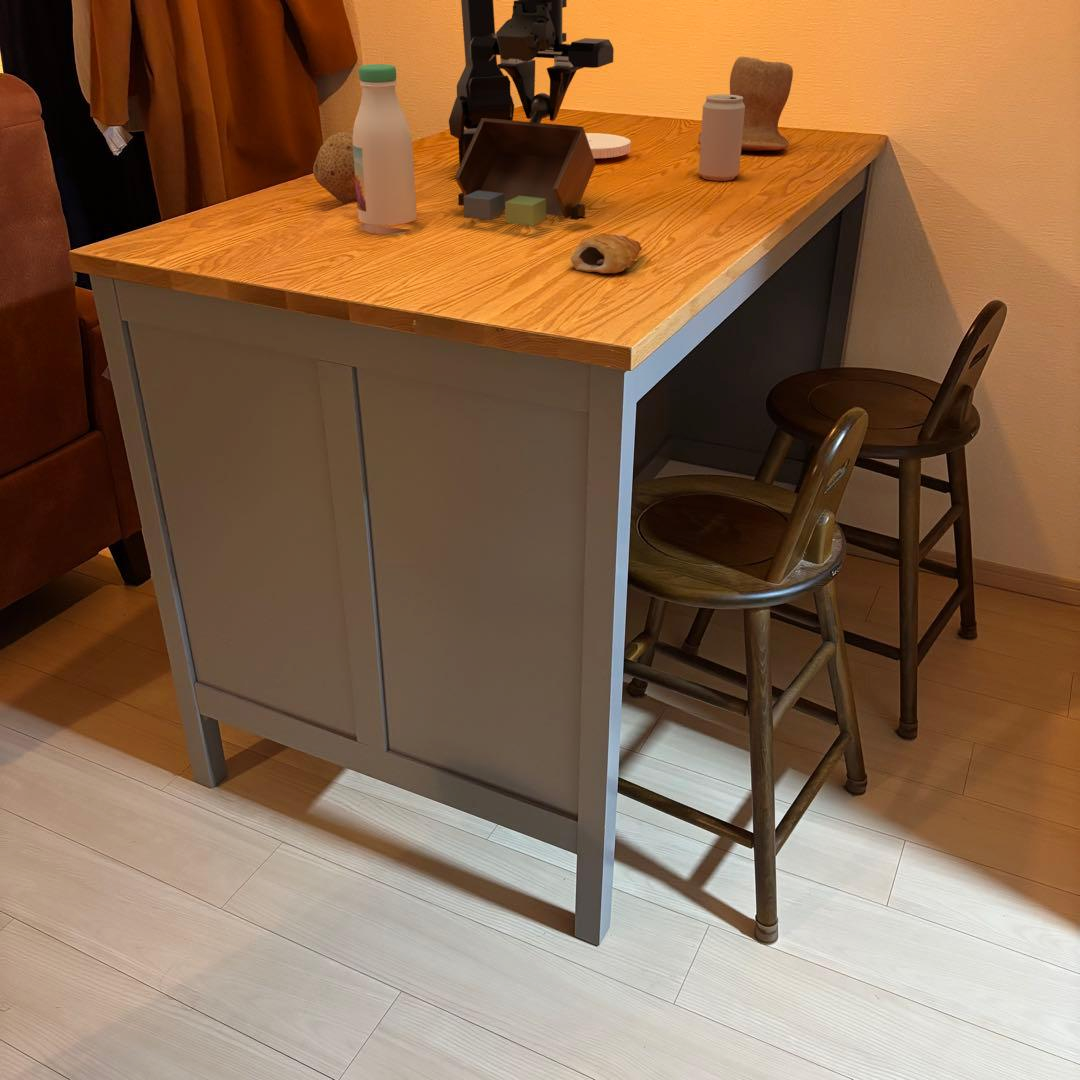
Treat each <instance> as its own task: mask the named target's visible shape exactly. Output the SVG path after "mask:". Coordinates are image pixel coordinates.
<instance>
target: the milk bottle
mask: <svg viewBox="0 0 1080 1080" xmlns="http://www.w3.org/2000/svg"><path fill="white" fill-rule="evenodd" d="M358 77H359V85H360V86H361V100H360V105H359V108H358V111H357V114H356V117H355V120H354V124H353V129H352V134H353V157H354V170H355V183H356V195H357V201H356V206H357V217H358V221H359V223H358V225H359V227H360V229H361V230H362V231H364V232H366V233H370V234H377V235H393V234H401V233H407V232H410V231H411V229H406V228H399V227H393V226H396V225H404V224H407V223H411V222H413V221H415V220H417V218H418V215H417V214H418V213H417V212H418V211H417V195H416V181H415V180H416V178H415V162H414V150H413V149H414V148H413V138H412V131H411V127H410V125H409V121H408V119H407V117H406V115H405V114H404V111H403V109H402V107H401V105H400V102H399V100H398V96H397V92H396V86H397V84H398V83H397V69H396V66H395V65H392V64H388V63H387V64H384V63H374V64H373V63H371V64H364V65H361V66H359V67H358ZM390 226H392V227H390Z"/></svg>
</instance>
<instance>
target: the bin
mask: <svg viewBox="0 0 1080 1080" xmlns="http://www.w3.org/2000/svg"><path fill="white" fill-rule="evenodd" d="M549 97H550V94H548V93H545V92H540V93H539V92H538V93H537V94H535V95H534V97H533V98H532V100H531V104H530V108H531V111H532V113H533V115H532V117H531V119H529V121H523V120H513V121H512V120H500V119H489V118H482V119H481V121H480V123H479V125H478V127H477V130H476V132H475V134H474V136H473V138H472V141H471V143H470V145H469V147H468V149H467V152H466V154H465V156H464V158H463V160H462V163H461V165H460V167H458V169H457V171H456V173H455V176H454V179H455V181H456V183H457V185H458V187H459V189H460V191H461V193H463V195H464V196H466V195H468V194H471V193H473V192H475V191H478V190H480V191H488V192H497V193H504V210H505V202H507V201H509V200H511V199H513V198H515V197H517V196H527V197H535V198H544V199H546V215H547V216H557V217H564V218H566V219H570V218H571V208H572V207H574V206H576V205H578V204H581V201H582V199H583V196H584V194H585V191H586V189H587V187H588V184H589V182H590V179H591V177H592V175H593V173H594V170H595V167H596V164H597V163H596V161H595V158H593V155H592V152H591V149H590V146H589V143H588V140H587V137H586V134H585V133H586V131H585V128H584V126H580V125H579V126H578V125H566V124H556V123H544V122H542V120H543V119H547V118H548V117H549V118H550V116H549Z"/></svg>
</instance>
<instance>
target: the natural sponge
mask: <svg viewBox="0 0 1080 1080" xmlns="http://www.w3.org/2000/svg"><path fill="white" fill-rule="evenodd" d="M312 172H313V176H314V179H315V180H316V182H317V183H318V185H320V186H321V187H322V188H323V189H325V190H326V191H327V192H328V193H330V194H331V195H332V197H334V198H335V199H337V200H338V201H339V202H340V203H341V204H342V205H343V204H344V205H349V204H351V203H354V202H357V195H356V183H355V170H354V157H353V133H351V132H347V131H340V132H336V133H334V134H331V135H330V136H329V137H327V138H326V139H325V141H323V143H322V144H321V146H320V148H319V150H318V152H317V155H316V158H315V160H314V163H313V167H312Z"/></svg>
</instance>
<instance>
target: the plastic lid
mask: <svg viewBox="0 0 1080 1080" xmlns="http://www.w3.org/2000/svg"><path fill="white" fill-rule="evenodd" d="M585 134H586V137H587V140H588V143H589V146H590V149H591V152H592V155H593V158H594V159H608V158H617V157H621V156H625V155H627V154H630V152H631V145H632V141H631V139H630V138H628V137H626V136H622V135H618V134H617V135H616V134H610V133H599V132H598V133H597V132H595V133H594V132H585Z"/></svg>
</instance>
